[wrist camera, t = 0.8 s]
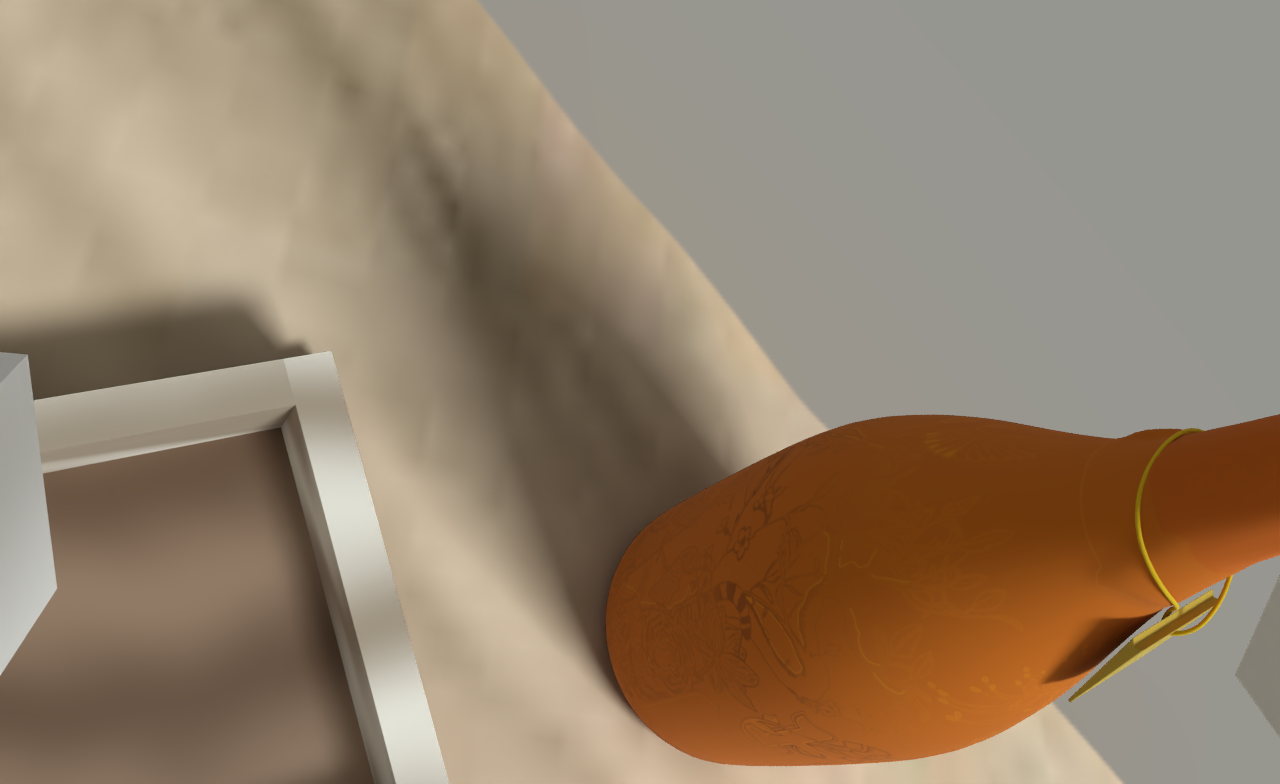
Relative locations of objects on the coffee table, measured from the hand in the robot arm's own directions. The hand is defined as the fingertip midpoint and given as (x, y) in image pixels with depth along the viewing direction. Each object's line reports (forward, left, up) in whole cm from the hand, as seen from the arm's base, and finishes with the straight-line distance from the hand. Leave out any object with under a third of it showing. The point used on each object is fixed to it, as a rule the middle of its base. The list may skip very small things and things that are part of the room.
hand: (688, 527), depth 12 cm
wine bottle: (+2, +16, -29) cm, 33 cm away
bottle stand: (-2, -4, -28) cm, 29 cm away
